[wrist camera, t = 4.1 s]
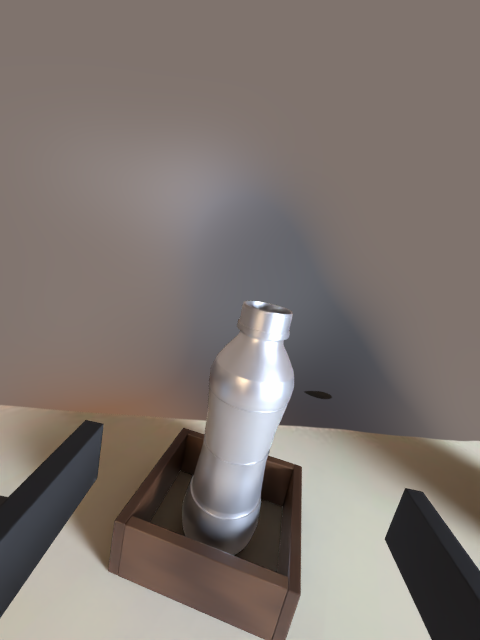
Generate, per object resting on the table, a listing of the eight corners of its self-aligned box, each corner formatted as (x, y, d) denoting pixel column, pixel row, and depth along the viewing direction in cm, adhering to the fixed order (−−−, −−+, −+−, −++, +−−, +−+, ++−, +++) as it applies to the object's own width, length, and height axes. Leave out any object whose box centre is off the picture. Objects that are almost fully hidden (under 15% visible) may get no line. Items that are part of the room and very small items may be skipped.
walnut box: (290, 503, 30) (301, 466, 29) (283, 648, 18) (301, 595, 17) (176, 463, 32) (183, 427, 31) (107, 571, 20) (114, 520, 19)
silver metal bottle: (160, 543, 23) (205, 299, 19) (203, 487, 29) (244, 293, 25) (232, 592, 21) (303, 327, 16) (263, 520, 27) (320, 313, 22)
